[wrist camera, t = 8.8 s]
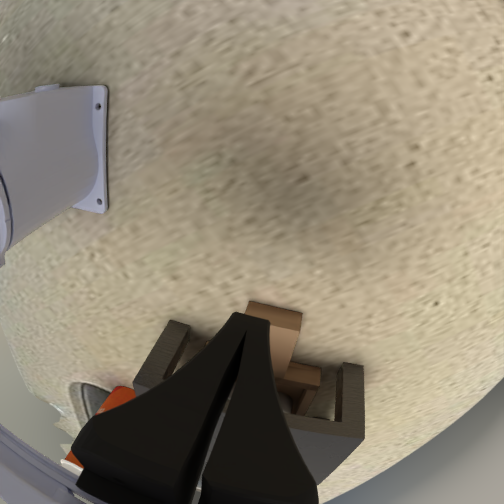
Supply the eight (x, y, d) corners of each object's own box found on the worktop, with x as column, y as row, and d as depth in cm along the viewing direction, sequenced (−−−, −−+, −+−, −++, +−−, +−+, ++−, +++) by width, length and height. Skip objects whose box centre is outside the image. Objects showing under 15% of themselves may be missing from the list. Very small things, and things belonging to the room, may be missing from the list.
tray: (210, 291, 24) (189, 331, 20) (341, 321, 23) (341, 366, 19) (204, 396, 31) (190, 430, 27) (296, 418, 30) (290, 454, 26)
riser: (170, 319, 26) (132, 382, 20) (363, 365, 25) (364, 439, 18) (174, 390, 32) (149, 443, 26) (324, 427, 30) (317, 485, 24)
